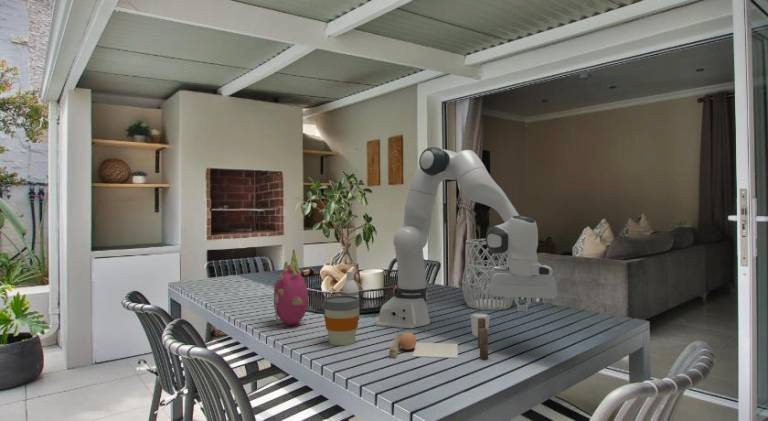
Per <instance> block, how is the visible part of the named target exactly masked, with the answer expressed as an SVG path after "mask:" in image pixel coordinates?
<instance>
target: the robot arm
mask: <svg viewBox="0 0 768 421" xmlns="http://www.w3.org/2000/svg"><path fill="white" fill-rule="evenodd" d="M443 181H445V182H446V183H451V182H457V183H458V186H459V188H460V190H461V192H462V193H463V195H464V196H465V197H466V198H467V199H469V200H470V201H472V202H475V203H479V204H482V205H485V206H488V207H491V208H492V209H493V210H495V211H496V212H497V213H498V214H499V216H500V217H501V219H502V220H503V223H501V224H498V225H495V226H491V227H490V228H489V229H488V231H487V232H486V235H485V239H486V240H485V241H486V244H485V245H486V247H487V248H488V249H489V250H488V249H487V250H488V251H489V252H491V253H492V254H493V253H494V255H495V254H497V255H498V254H500V255H502V254H505V255H507V254H509V261H508V262H509V265H508V266H509V267H493V268H492V267H491V270H490V271H489V278H490V279H489V280H491V283H490V282H489V283H490V294H491V297H492V296H494V297H496V296H498V297H499V298H500V297H502V298H503V297H504V298H505V297H514V300H513V301H514V302H515V304H516V306H517V308H516V310H517V312H528V307H529V305H530V304H531V302H532V298H533V299H555V298H556V297H557V295H558V292H557V282H556V279H555V278H554V276H553V274H554V271H553V270H554V269H553V268H552V267H551V266H549V265H546V264H544V263H540V262H538V261H539V260H538V259H539V257H538V253H537V251H538V246H539V234H538V233H539V229H538V225H537V222H536V220H535V219H534V218H532V217H530V216H525V215H521V212H520V211H519V210H518V208H517V207H516V205H515V204H514V202H513V201H512V199H511V198H510V196H509V195H508V194H507V193H506V192H505V191H504V189H502V188H501V187H500V186H499V185H498V184H497V183H496V181H495V180H494V179H493V178H492V176H491V174H490V173H489V172H488V170H487V168H486V166H485V164H484V163H483V161H482V160H481V158H480V157H479V156H478V154H476V152H474V151H473V150H471V149H464V150H461V151H458V152H456V151H453V150H451V149H444V148H440V147H435V146H433V147H427V148H425V149H424V150H423V151H422V153H421V154H420V157H419V162H418V166H417V167H416V169H415V170H414V174H413V175H412V178H411V181H410V185H409V188H408V192H407V197H406V201H405V206H404V218H403V226H402V227H400V228H399V229H397V231H396V233H395V234H394V236H393V242H392V243H393V246H394V252H395V256H396V257H395V258H396V262H397V264H396V265H397V281H398V282H397V285H398V286H397V285H395V286H394V287H393V288H392V292H393V293H392V295H393V296H392V297H391V298H390V299H389V300H387V301H386V302H385V303H383V305H382V306H381V307H380V311H379V315H378V316H376V317H375V318H374V320H373V324H374V325H375V326H377V327H378V326H379V327H390V328H399V329H400V328H401V329H414V328H417V327H423V326H427V325H429V324H431V320H430V315H429V310H428V304H427V301H428V288H427V285H426V284H427V281H426V280H427V277H426V276H427V274H426V272H427V270H426V265H425V260H424V259H425V258H424V251H423V250H424V248H425V247H426V245H427V244H428V239H429V234H430V229H431V228H430V227H431V222H432V217H433V216H432V215H433V211H434V206H435V203H436V198H437V194H438V190H439V186H440V184H441V182H443ZM493 269H494V270H493ZM520 298H525V301H526V302H525V303H524V304H520V303H519V301H520Z"/></svg>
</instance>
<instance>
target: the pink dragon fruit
mask: <svg viewBox="0 0 768 421" xmlns="http://www.w3.org/2000/svg"><path fill="white" fill-rule="evenodd" d="M290 260H291V261H290V264H288V261H285V262H284V263H283V264H284V265H283V269H282V273H279V274H278V277H277V280H276V282H274V283H273V308H274V316H275V320H276V322H277V323H278V322H279V319H280V320H281V321H282V322H283V323H284V324H285V325H289V326H293V325H297V324H298V323H300V322H301V321H302V319H303V318H304V316H305V314H306V311H307V308H308V304H309V294H308V293H309V292H308V287H307V283H306V282H305V279H304V277H303V275H302V274H301V271H300V267H299V263H298V258H297V255H296V250H295V249H292V256H291V259H290Z"/></svg>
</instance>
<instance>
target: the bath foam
mask: <svg viewBox="0 0 768 421" xmlns="http://www.w3.org/2000/svg"><path fill="white" fill-rule="evenodd" d="M354 273H355V272H354V270H346V280H345V282H344V283H343V286H342V289H341V296H343V295H345V296H355V297H358V298H359V299H360V290H359V286H358V284H357V282H356V281H355V280H354V278H355V276H354ZM358 314H359V315H360V307H359V308H358ZM359 319H360V317H359V318H358V320H359Z"/></svg>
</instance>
